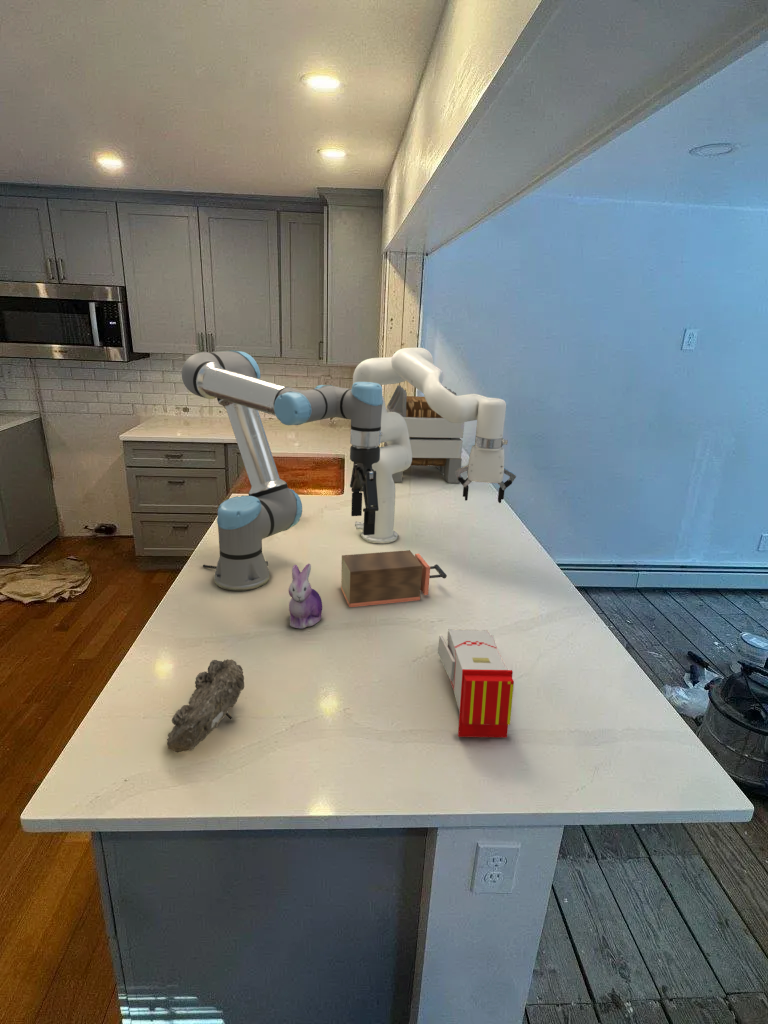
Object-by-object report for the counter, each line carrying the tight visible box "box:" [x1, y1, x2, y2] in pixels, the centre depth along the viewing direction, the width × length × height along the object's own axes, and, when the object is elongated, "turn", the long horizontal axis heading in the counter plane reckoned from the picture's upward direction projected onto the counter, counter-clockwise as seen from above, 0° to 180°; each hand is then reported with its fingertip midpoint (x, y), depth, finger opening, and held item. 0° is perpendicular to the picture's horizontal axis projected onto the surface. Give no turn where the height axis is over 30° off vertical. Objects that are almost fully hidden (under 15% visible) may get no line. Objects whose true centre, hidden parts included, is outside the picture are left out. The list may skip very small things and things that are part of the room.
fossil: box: [166, 658, 245, 754], centre depth 106 cm, size 22×10×15 cm
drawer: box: [414, 553, 448, 596], centre depth 157 cm, size 24×9×8 cm, turn 106°
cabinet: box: [340, 549, 422, 608], centre depth 155 cm, size 20×11×10 cm, turn 106°
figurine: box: [288, 563, 323, 629], centre depth 140 cm, size 9×10×15 cm
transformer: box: [383, 384, 465, 484], centre depth 268 cm, size 34×33×41 cm
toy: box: [437, 628, 515, 738], centre depth 117 cm, size 12×13×30 cm
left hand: (362, 524), depth 149 cm, fingers open, 13 cm apart
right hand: (482, 500), depth 165 cm, fingers open, 9 cm apart
